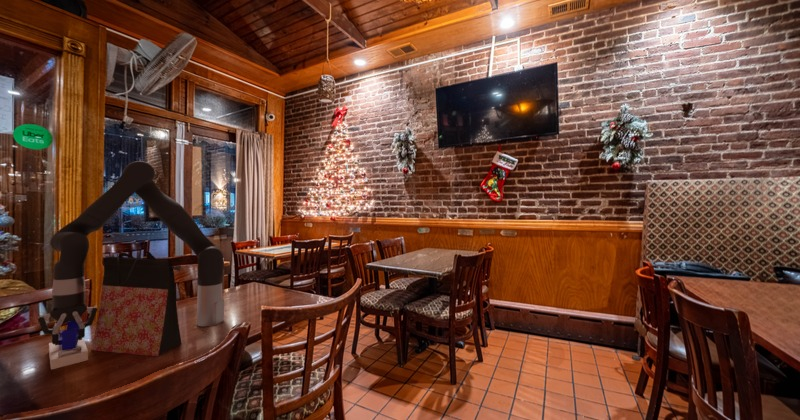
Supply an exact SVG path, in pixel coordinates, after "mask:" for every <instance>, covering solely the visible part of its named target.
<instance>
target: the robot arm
mask: <svg viewBox="0 0 800 420" xmlns="http://www.w3.org/2000/svg"><path fill="white" fill-rule="evenodd" d="M155 176H156V171H155V168H154V166H152V165H151V164H150V163H148V162H147V161H142V160H138V161H132V162H129V163H128V164H127V165H126V166H125V167H124V169H122V171H121V175H120V177H118V179H117V180H116V181H115V182H114V184H113V185H111V187H109V188H108V189H107V190H106V191H104V193H103V194H101V196H100V195H99V197H98V198H97V199H95V201H93V202H92V203H91V204H90V205H89V206H88V207H87V208H85V210H84V211H82V212H81V213H80V214H79V215H78V216H77V217H76V218H75V219H74V220H72V221H70V222H69V223H67V224H66V225H65V226H63V227H61V228H60V229H59V230H58V231H57V232H55V234H53V235H52V237H51V238H50V242H49V244H50V247H51V248H52V249H53V250H54V251H57V252H59V253H60V256H59V260H58V261H56V262H55V264H54V266H53V282H52V288H51V289H52V291H51V292H52V293H51V295H52V298H51V299H52V300H51V301H52V302H51V303H52V304H51V305H52V306H51V307H52V308H51V310H50V312H49V313H46V314H44V315H41V314H40V315H38V317H37V321H38V323H39V325H40V328H41V331H42V333H43V335H51V343H53V344H55V346H56V345H59V336H60V332H59V330H60V328H61V327H62V325H63V324H67V322H69V321H76V322H77V323H78V325H79V333H78V339H79V340H82V338H83V339H84V338H85V335H86V328H87V327H89V326H92V325H93V323H94V320H95V318H96V315H97V312H98V307H97V306H95V305H94V306H87V305H86V287H87V286H86V278H85V263H86V260H87V257H88V254H89V249H90V241H89V238H88V235H90V234H92V233H93V232H96V231H99V230H101V229H102V227H104V226H105V225H106V224H107V223H108V222H109V220H111V219H112V218H113V217H114V215H115V214H116V213H117V212H118V211H119V209H121V207H122V206H123V205H124V204H125V202H126V201H127V200H129V198H131V197H132V196H133V194H134V193H135V194H136V195H137V196H138V197H139V198H140V199H141V200H142V201H143V202H144V203H145V204H146V205H147V206H148V207H149V209H150V210H151V211H152V212H153V214H155V216H156V217H157V218H158V219H159V220H160V222H161V223H163V225H164V226H165V227H166V228H167V229H168V230H169V232H171V233H172V234H173V235H174V236H176V237H177V238H178V239H180V240H181V241H182V242H183V243H185V244H186V245H187V246H188V247H189V249H191V250H192V252H193V253H194V254H195V256H196V258H197V293H196V294H197V296H196V297H197V298H196V299H197V300H196V302H197V303H196V304H197V305H196V308H197V309H196V311H197V312H196V326H198V327H211V326H217V325H219V324H221V323H222V322H223V321H224V320H225V319H224V318H225V299H223V281H224V279H223V277H224V254H223V252H222V250H221V249H220V248H219V247H218V246H217V245H215V243H213V242H212V241H211V240H210V239H209V238H208V237H207V236H206V235H205V234H204V232H203V231H202V230H201V228H200V226H199V225H198V224H197V222H196V221H195V220H194V218H193V217H192V216H191V214H189V212H188V211H187V210H186V208H184V207H183V206H182V205H181V204H180V203H178V202H177V201H176V200H174V199H173V198H171V197H170V196H168V195H167V194H165V193H164V192H163V191H162V190H161V189H160V187H159V186H158V185H157V183H155V181H154V179H155ZM86 312H87V314H89V315H88V318H87V320H86V321H85V322H83V320H82V318H81V317H82V316H83V315H84V314H85V313H86ZM50 317H51V318H52V319H54V320H55V322H54V325H53V327H52V328H49V326H48V324H47V322H48V321H49V318H50Z"/></svg>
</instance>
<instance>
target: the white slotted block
mask: <svg viewBox="0 0 800 420" xmlns="http://www.w3.org/2000/svg"><path fill="white" fill-rule="evenodd" d="M48 358H49V364H50V365H49V366H50V370H55V369H58V368H62V367H63V368H64V367H67V366H71V365H74V364H78V363H81V362H85V361H89V350H88V346H87V345H86V342H85V340H84V338H82V340H78V343H77V345H76V348H73V349H67V350H62V345H56V346H55V344H53V343H52V342H49V343H48Z"/></svg>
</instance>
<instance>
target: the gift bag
mask: <svg viewBox="0 0 800 420" xmlns="http://www.w3.org/2000/svg"><path fill="white" fill-rule="evenodd" d="M144 253H145V257H146V258H145V257H141V256H142V255H143V254H144ZM102 260H103V261H102V262H103V277H102V285H101V293H100V303H99V308H98V315H97V321H96V326H95V331H94V336H93V340H92V345H91V348H90V350H91V351H96V352H106V353H118V354H119V353H120V354H130V355H132V354H133V355H141V356H150V357H151V356H154V357H159V356H161V355H163V354H165V353H167V352H169V351H171V350H172V349H174V348H176V347H178V346H180V345H181V344H182V338H181V331H180V325H179V316H178V309H177V296H176V282H175V281H176V280H175V271H174V270H176V271H179V272H180V271H181V268H182V264H181V265H174V266H173V263H172V259H167V258H165V259H164V258H156V257H155V256H154V255H153V254H152V253H151V252H150V251H144V252H142V253H141V254H140V255H139V256H138V257H134V256H132V255H131V254H129V253H126V252H120V253H118V252H116V256H105V257H102Z"/></svg>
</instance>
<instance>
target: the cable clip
mask: <svg viewBox="0 0 800 420" xmlns="http://www.w3.org/2000/svg"><path fill="white" fill-rule="evenodd" d="M78 333H79V325H78V323H77V322H76V321H69V322H66V329H63V330H60V332H59V345H62V350H67V349H73V348H76V345H77V343H78V340H79V339H78Z"/></svg>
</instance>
